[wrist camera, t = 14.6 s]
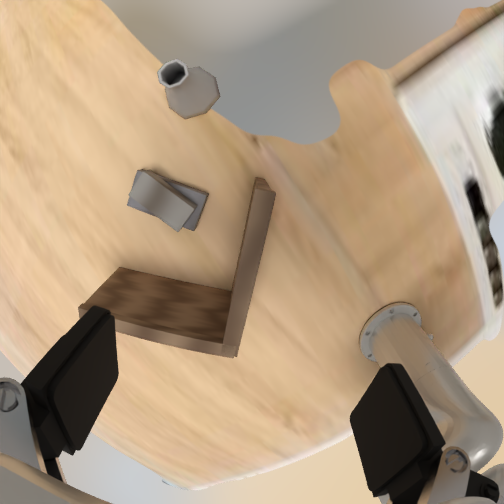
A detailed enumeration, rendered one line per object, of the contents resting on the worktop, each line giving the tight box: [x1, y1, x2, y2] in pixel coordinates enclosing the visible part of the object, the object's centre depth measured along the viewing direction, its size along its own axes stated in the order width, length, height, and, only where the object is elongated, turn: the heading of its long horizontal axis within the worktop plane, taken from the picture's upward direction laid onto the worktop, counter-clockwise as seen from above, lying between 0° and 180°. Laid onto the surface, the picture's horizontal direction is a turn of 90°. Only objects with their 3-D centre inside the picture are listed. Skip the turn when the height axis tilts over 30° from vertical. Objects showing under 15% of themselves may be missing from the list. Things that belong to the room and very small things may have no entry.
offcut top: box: [129, 170, 198, 232], centre depth 34 cm, size 8×4×2 cm, turn 51°
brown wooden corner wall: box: [78, 178, 276, 358], centre depth 32 cm, size 19×18×13 cm
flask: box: [157, 59, 220, 119], centre depth 27 cm, size 7×7×10 cm
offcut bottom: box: [127, 169, 209, 231], centre depth 36 cm, size 10×5×2 cm, turn 67°
